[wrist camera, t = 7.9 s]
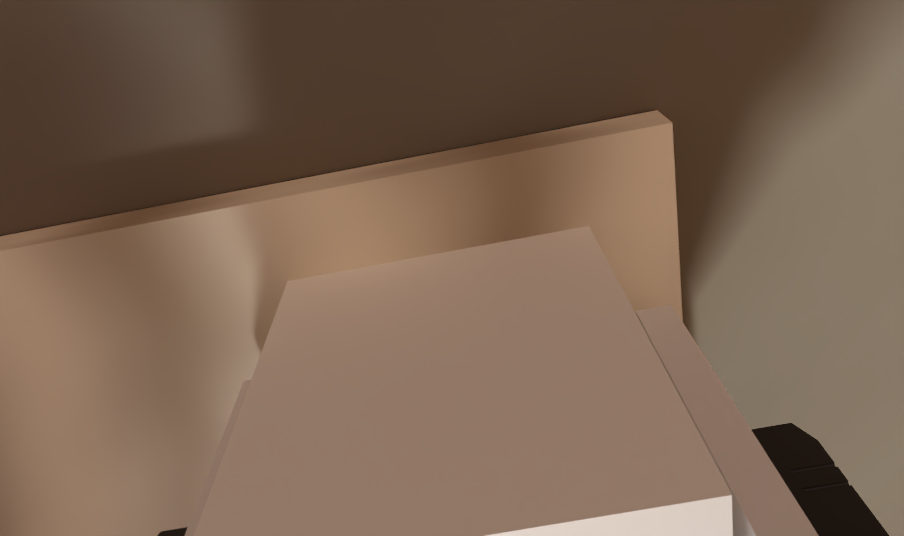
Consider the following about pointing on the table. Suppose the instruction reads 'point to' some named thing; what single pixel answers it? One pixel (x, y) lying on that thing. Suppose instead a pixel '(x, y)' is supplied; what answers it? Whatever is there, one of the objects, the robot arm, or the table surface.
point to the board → (265, 302)
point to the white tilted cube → (465, 407)
